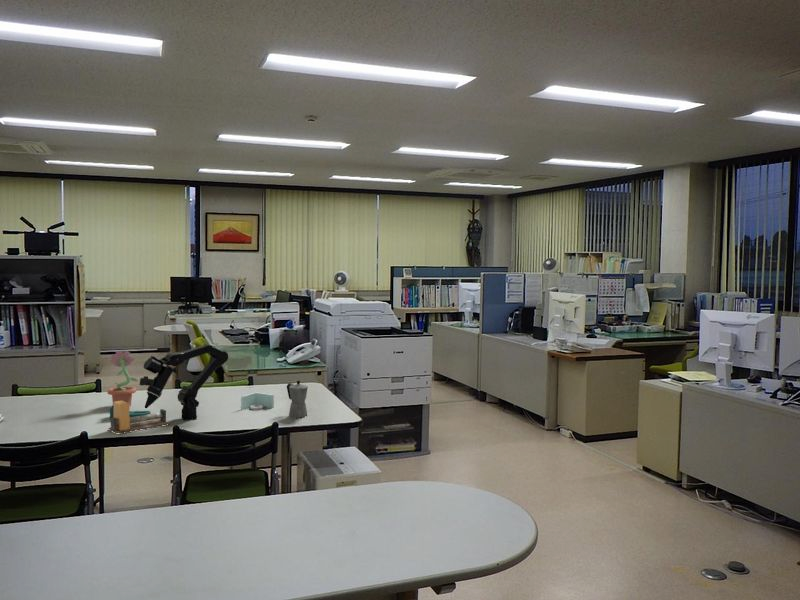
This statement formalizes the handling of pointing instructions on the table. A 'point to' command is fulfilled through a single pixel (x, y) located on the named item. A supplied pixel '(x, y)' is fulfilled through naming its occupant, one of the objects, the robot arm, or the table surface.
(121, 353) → the decorative flower
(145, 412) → the bracket
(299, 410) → the coffeepot
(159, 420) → the pipe board
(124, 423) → the orange tan block
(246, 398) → the l-shaped corner panel
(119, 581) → the table surface
